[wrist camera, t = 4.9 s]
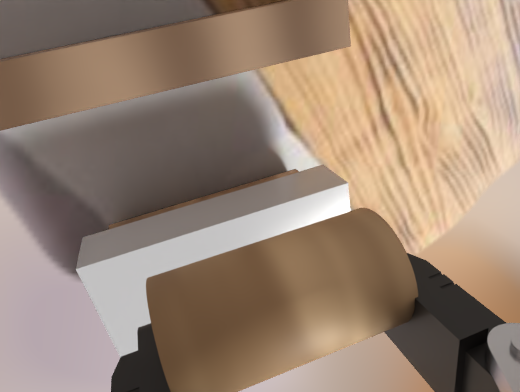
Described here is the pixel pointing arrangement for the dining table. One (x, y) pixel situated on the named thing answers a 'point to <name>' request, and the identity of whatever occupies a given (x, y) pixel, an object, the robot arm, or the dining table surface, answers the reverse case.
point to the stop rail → (166, 58)
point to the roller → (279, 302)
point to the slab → (196, 241)
